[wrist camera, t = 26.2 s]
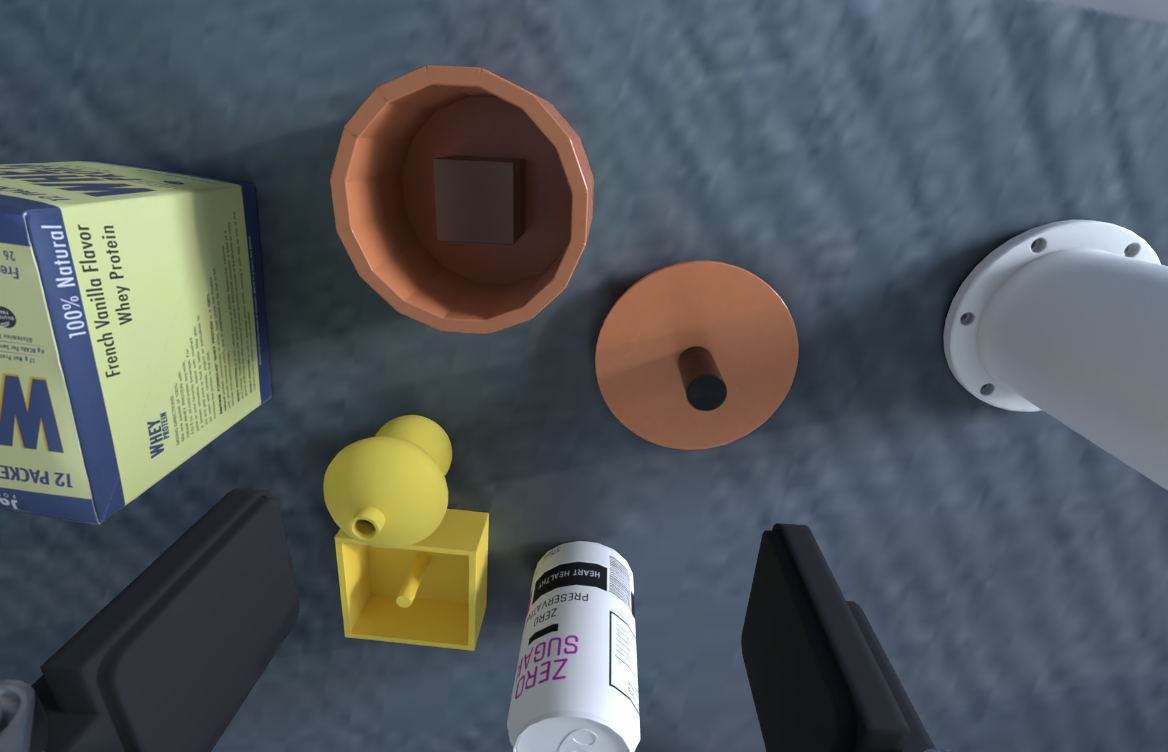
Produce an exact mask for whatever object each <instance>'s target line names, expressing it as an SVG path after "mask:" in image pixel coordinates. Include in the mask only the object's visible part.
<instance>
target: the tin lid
mask: <svg viewBox="0 0 1168 752" xmlns="http://www.w3.org/2000/svg"><path fill="white" fill-rule="evenodd" d="M798 357H799V343H798V336H797V330H796V327H795V324H794V321H793V318H792V316H791V314H790V312H789V310H788V308H787V306H786V305H785V303H784V302H783V300H782V299H781V298H780V296H779V295H778V294H777V293H776V292H775V291H774V290H773V289H772V288H771V287H770V286H769V285H768V284H767V283H765V282H764V281H763V280H762V279H760V278H759V277H757V276H756V275H754V274H752V273H751V272H749V271H747V270H744V269H742V268H740V267H737V266H735V265H731V264H727V263H723V262H716V261H688V262H681V263H676V264H673V265H669V266H666V267H663V268H661V269H658V270H656V271H654V272H652V273H650V274H648V275H646V276H645V277H643V278H641V279H640V280H638V281H637V282H636V283H634V284H633V285H632V286H630V287H629V288H628V289H627V290H626V291H625V292H624V293H623V294H622V295H621V296H620V297H619V298H618V300H617V301H616V302H615V303H614V305H613V306H612V307H611V309H610V311H609V312H608V314H607V316H606V317H605V319H604V322H603V324H602V326H601V329H600V332H599V335H598V339H597V344H596V352H595V371H596V377H597V382H598V385H599V388H600V392H601V394H602V396H603V398H604V400H605V402H606V404H607V405H608V407H609V409H610V410H611V412H612V413H613V414H614V415H615V416H616V418H617V419H618V420H619V421H620V422H621V423H622V424H623V425H624V426H626V427H627V428H628V429H629V430H631V431H632V432H634V433H635V434H636V435H638V436H640V437H642V438H644V439H646V440H648V441H650V442H652V443H655V444H658V445H661V446H665V447H669V448H675V449H683V450H699V449H708V448H713V447H717V446H722V445H725V444H728V443H731V442H733V441H736V440H738V439H740V438H742V437H744V436H746V435H747V434H749V433H751V432H752V431H754V430H755V429H757V428H758V427H759V426H761V425H762V424H763V423H764V422H766V421H767V420H768V419H769V418H770V417H771V416H772V415H773V414H774V413H775V411H776V410H777V409H778V407H779V406H780V405H781V404H782V402H783V400H784V399H785V397H786V395H787V394H788V392H789V390H790V387H791V385H792V383H793V380H794V377H795V373H796V370H797V364H798Z"/></svg>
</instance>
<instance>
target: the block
mask: <svg viewBox="0 0 1168 752" xmlns="http://www.w3.org/2000/svg"><path fill="white" fill-rule="evenodd" d="M432 161H433V178H434V195H435V212H436V229H437V241H446V242H465V243H484V244H503V245H514V244H515V243H516V242H517V241H518V240H519V239H520V238H521V237H522V235H523V234H524V233H525V159H518V158H497V157H476V156H456V155H454V156H446V157H438V158H433V159H432Z"/></svg>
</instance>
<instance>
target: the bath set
mask: <svg viewBox="0 0 1168 752" xmlns="http://www.w3.org/2000/svg"><path fill="white" fill-rule="evenodd" d="M451 460H452V447H451V442H450V440H449V438H448V435H447V434H446V432H445V431H444V430H443V429H442V428H441V427H440V426H439V425H438V424H437V423H435V422H434V421H432V420H430V419H428V418H426V417H422V416H418V415H405V416H401V417H397V418H394V419H392V420H390V421H389V422H387V423H386V424H385V425H384V426H382V427H381V428H380V429H379V431H378V432H377V433H376V435H375V437H370V438H367V439H363V440H359V441H357V442H354V443H352V444H350V445H348V446H346V447H345V448H344V449H343V450H341V451H340V452H339V453H338V454H337V455H336V457H335V458H334V459H333V461H332V462H331V463H330V465H329V466H328V468H327V471H326V473H325V477H324V484H323V488H324V499H325V503H326V506H327V509H328V511H329V513H330V514H331V516H332V518H333V520H334V521H335V522H336V524H337V525H338V526H339V527H340V528H341V529H340V530H339V531H338V533H337V534H336V536H335V546H336V555H337V564H338V574H339V583H340V593H341V602H342V611H343V621H344V630H345V637H350V638H359V639H369V640H378V641H387V642H397V643H406V644H416V645H425V646H435V647H444V648H454V649H463V650H472V651H474V650H475V647H476V643H477V639H478V636H479V632H480V628H481V625H482V621H483V617H484V613H485V610H486V603H487V566H488V528H489V513H485V512H475V511H466V510H456V509H447V506H448V488H447V484H446V479H445V477H444V476H445V475H446V473H447V472H448V470H449V468H450V464H451Z"/></svg>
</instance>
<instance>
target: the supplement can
mask: <svg viewBox="0 0 1168 752" xmlns="http://www.w3.org/2000/svg"><path fill="white" fill-rule="evenodd" d="M507 727H508V733H509V738H510V742H511V744H512V747H513V752H634V751H635V749H636V747H637V745H638V743H639V741H640V722H639V700H638V678H637V656H636V633H635V611H634V589H633V573H632V571H631V569H630V567H629V565H628V563H627V561H626V560H625V559H624V558H623V557H622V556H620V555H619V554H618V553H617V552H616V551H615V550H613V549H611V548H609V547H606V546H604V545H602V544H599V543H594V542H586V541H576V542H570V543H564V544H561V545H559V546H557V547H555V548H553V549H551V550H549V551H548V552H547V553H546V554H545V555H544V556H543V557H542V558H541V560H540V561H539V562H538V564H537V567H536V570H535V573H534V576H533V582H532V587H531V593H530V599H529V604H528V610H527V615H526V621H525V626H524V632H523V637H522V643H521V648H520V654H519V660H518V665H517V671H516V676H515V682H514V687H513V693H512V698H511V704H510V710H509V715H508V721H507Z"/></svg>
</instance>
